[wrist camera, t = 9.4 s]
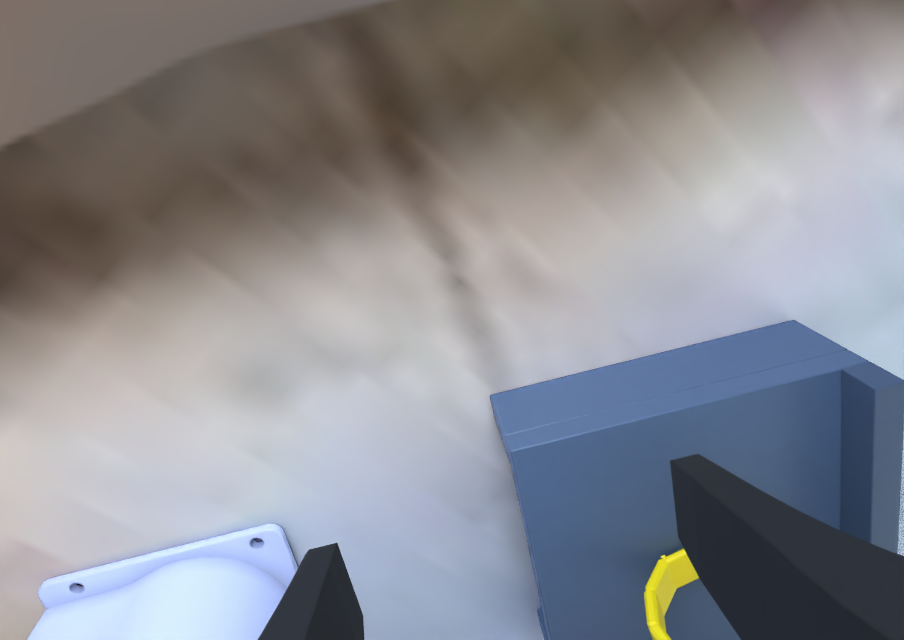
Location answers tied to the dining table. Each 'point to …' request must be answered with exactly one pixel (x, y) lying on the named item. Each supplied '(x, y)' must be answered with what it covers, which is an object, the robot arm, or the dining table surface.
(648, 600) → the watch
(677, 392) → the blue stand
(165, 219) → the dining table surface
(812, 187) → the dining table surface
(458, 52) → the dining table surface
